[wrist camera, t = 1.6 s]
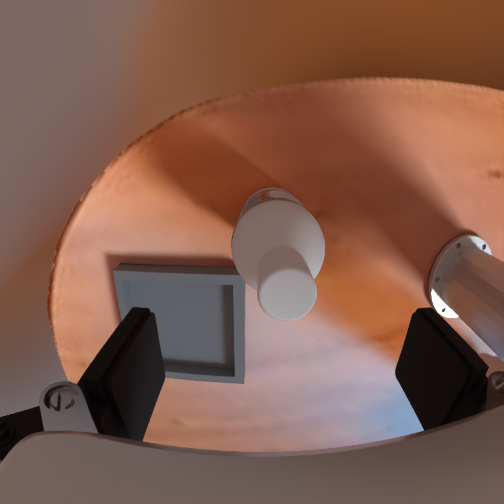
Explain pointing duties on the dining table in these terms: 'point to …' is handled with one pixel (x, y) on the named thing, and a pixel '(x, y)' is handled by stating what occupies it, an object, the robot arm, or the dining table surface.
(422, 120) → the dining table surface
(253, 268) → the bath foam
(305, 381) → the dining table surface
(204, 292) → the blue-gray tray
